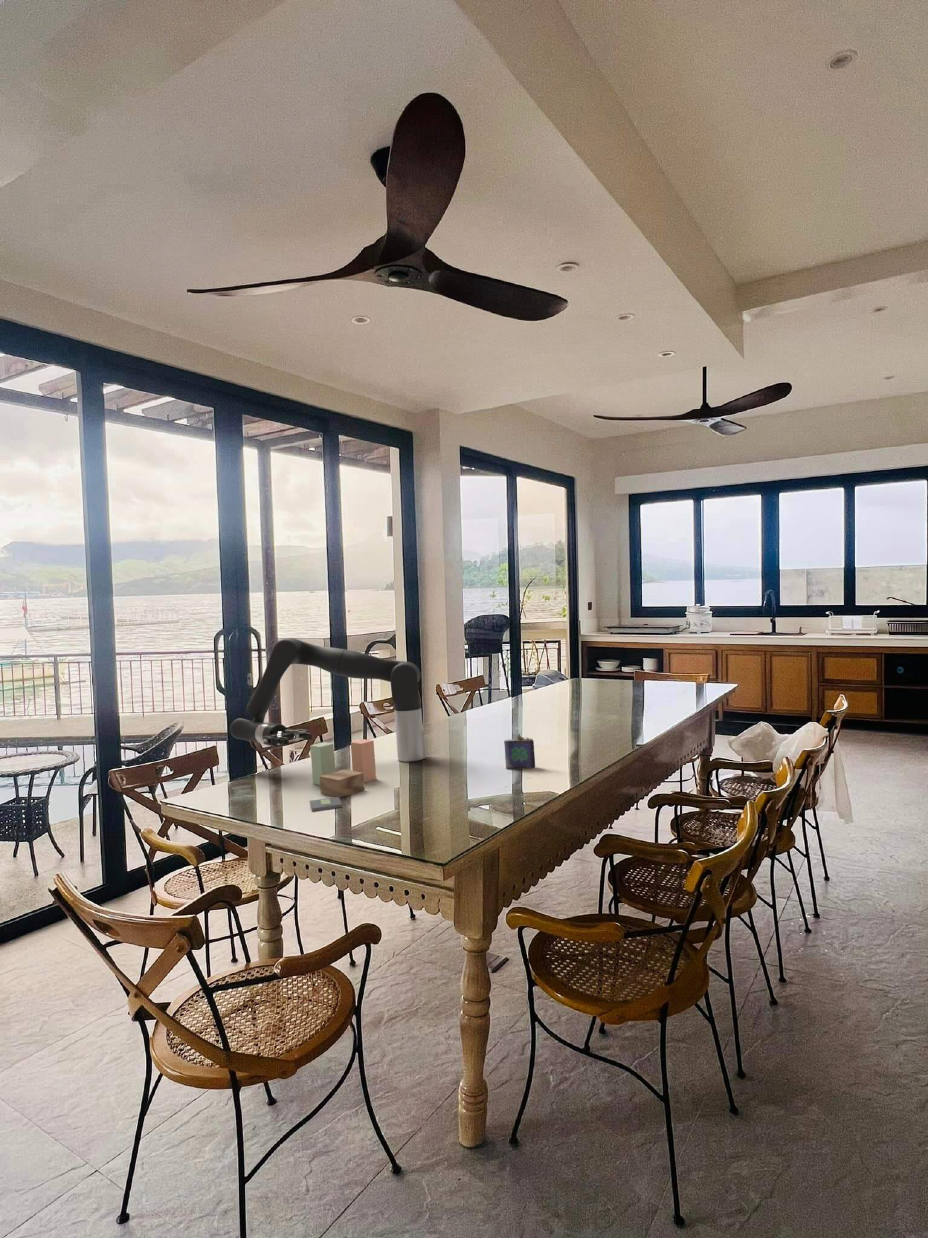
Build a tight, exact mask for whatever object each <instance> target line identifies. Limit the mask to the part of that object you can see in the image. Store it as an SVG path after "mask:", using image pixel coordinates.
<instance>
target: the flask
mask: <svg viewBox="0 0 928 1238" xmlns="http://www.w3.org/2000/svg"><path fill="white" fill-rule="evenodd" d="M515 737H516V738H515V739H505V740H504V742H503V743H504V757H505V758H504V759H505V760H504V761H505V769H506V770H524V769H536V757H535V742H534V740H533V738H529V737H526V738H525V737H523V736H521V733H520V732H519V733H516V735H515Z"/></svg>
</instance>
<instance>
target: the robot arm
mask: <svg viewBox="0 0 928 1238" xmlns="http://www.w3.org/2000/svg"><path fill="white" fill-rule="evenodd" d="M291 665H303V666H305V665H306V666H312V667H316V668H318V669H322V670H323V671H325V672H328V673H331V674H333V675H336V676H341V677H346V678H351V679H361V680H362V679H363V680H364V679H365V680H381V681H385V682H389V683H390V691H391V699H392V703H393V709H394V723H395V724H394V725H395V739H396V748H397V749H396V751H397V753H396V755H397V760H398V761H399V762H407V763H408V762H416V761H421V760H423V759H427V752H426V748H427V747H426V738H425V737H426V736H425V735H426V734H425V731H424V729H423V728H424V727H423V716H422V702H421V699H420V694H419V684H418V683H419V681H420V679H421V675H422V674H421V670H420V668H419V667H418V665H416V664H415V663H413V662H411V661H404V660H403V661H402V660H395V659H394V660H392V659H385V658H380V657H377V656H375V655H370V654H367V653H363V652H359V651H354V650H350V649H345V648H337V647H331V646H320V645H316V644H313V643H309V642H306V641H303V640H301V639H297V638H293V637H285V638H282V639H279V640H278V641H277V642H275V644H274V645H273V648H272V650H271V653H270V656H269V660H268V662H267V664H266V668H265V670H264V672H263V674H262V677H261V679H260V681H259V683H258V685H257V687H256V688H255V691H253V692H254V693H253V694H252V696H251V698H250V699H249V701H248V703H247V706H246V709H245V711H246V713H247V714H248V715H250V716H251V717H253V718H252V720H249V719H245V718H240V717H239V718H236V719H234V720H233V721H232V722H231V723H230V726H229V733H230V735H231V736H232V737H233V738H235V739H238V740H242V741H246V742H253V743H257V744H262V745H264V746H270V747H274V748H280V747H282V746H289V745H290V742H298V741H300V740H304V741H305V740H307V741H311V740H312V739H313V734H312V733H310V730H309V729H302V728H296V729H288V728H287V727H286V726H285V725H284V724H282V723H273V722H265V719H266V715H267V713H268V711H269V710H270V707H271V705H272V703H273V701H274V699H275V697H276V694H277V690H278V687H279V684H280V682H281V679H282V677H283V675H285V672H286V671H287V670H288V668H289V667H290V666H291Z"/></svg>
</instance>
